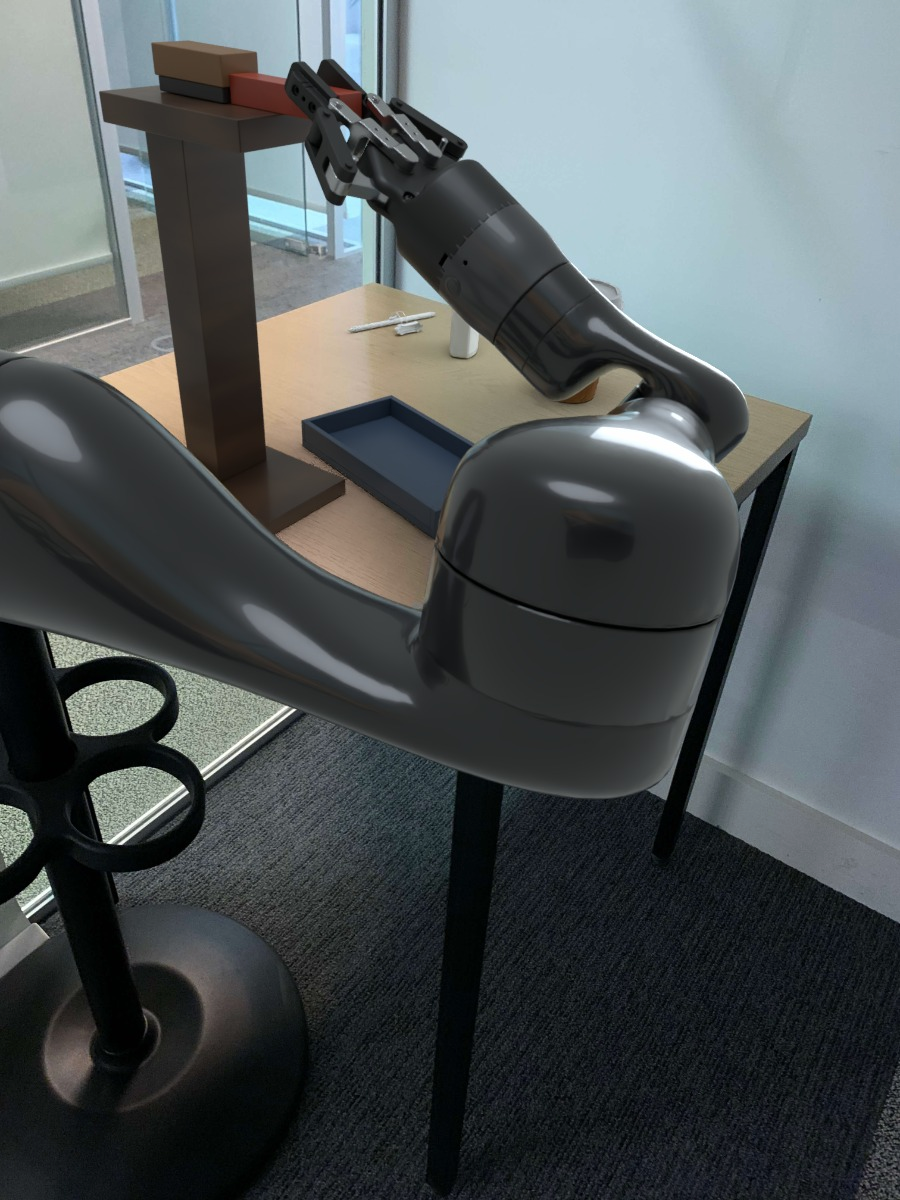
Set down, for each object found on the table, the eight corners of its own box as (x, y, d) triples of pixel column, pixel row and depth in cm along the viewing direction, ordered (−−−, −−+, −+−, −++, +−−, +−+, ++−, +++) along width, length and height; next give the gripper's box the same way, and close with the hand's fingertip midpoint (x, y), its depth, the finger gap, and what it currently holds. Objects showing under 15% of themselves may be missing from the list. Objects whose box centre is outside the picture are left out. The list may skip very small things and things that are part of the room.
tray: (526, 502, 85) (530, 475, 83) (433, 539, 79) (435, 511, 77) (391, 419, 97) (391, 394, 96) (302, 445, 91) (300, 420, 90)
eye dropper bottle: (490, 350, 115) (499, 253, 108) (462, 361, 111) (468, 262, 104) (464, 340, 117) (471, 244, 110) (435, 351, 113) (440, 253, 106)
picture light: (433, 315, 124) (434, 299, 123) (452, 325, 121) (453, 309, 120) (346, 332, 117) (346, 316, 116) (364, 343, 114) (364, 327, 113)
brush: (368, 121, 61) (368, 70, 59) (333, 127, 58) (332, 73, 57) (193, 86, 68) (188, 40, 66) (156, 90, 66) (150, 42, 64)
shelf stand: (345, 492, 84) (339, 105, 65) (269, 537, 77) (238, 119, 58) (238, 446, 90) (204, 80, 71) (159, 484, 84) (98, 91, 64)
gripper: (569, 190, 60) (394, 14, 62) (449, 229, 51) (245, 20, 52) (512, 277, 66) (352, 113, 67) (394, 325, 56) (211, 134, 58)
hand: (306, 73), depth 60 cm, fingers closed on brush, 2 cm apart
